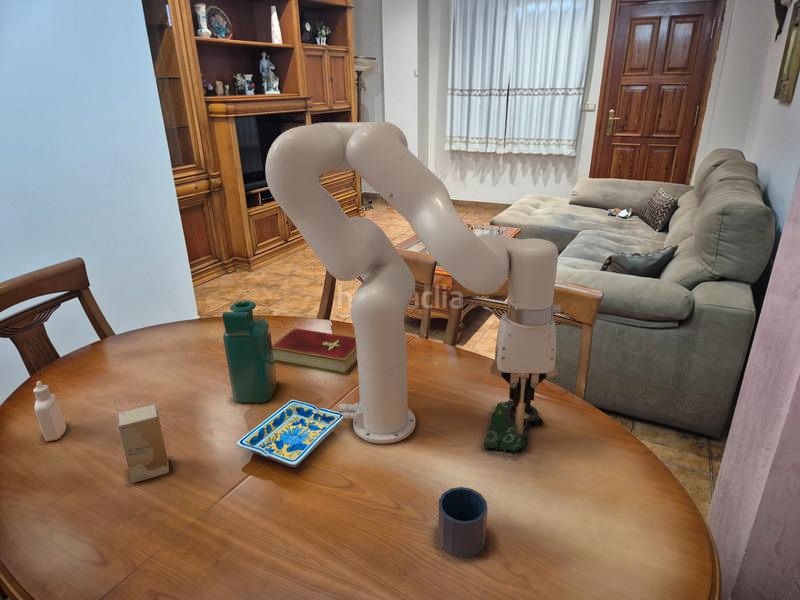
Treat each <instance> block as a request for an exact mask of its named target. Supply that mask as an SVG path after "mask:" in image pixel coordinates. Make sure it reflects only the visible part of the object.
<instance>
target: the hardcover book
mask: <svg viewBox="0 0 800 600" xmlns="http://www.w3.org/2000/svg"><path fill="white" fill-rule="evenodd" d="M272 349H273V357H274V363H279V364H283V365H284V364H285V365H289V366H295V367H301V368H307V369H311V370H318V371H323V372H328V373H333V374H338V375H345V376H347V375H348V374H349V372H350V371H352V369H353V368H354V367H355V365H356V364H358V362H357V349H356V338H355V336H347V335H343V334H336V333H329V332H323V331H317V330H309V329H302V328H297V327H292V328H291V329H290V330H288V331H287V332H286V333H285V334H284V335H282V336H281V337H280V338H279V339H277V340H276V341H274V343H272Z"/></svg>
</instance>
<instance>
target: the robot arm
mask: <svg viewBox="0 0 800 600" xmlns="http://www.w3.org/2000/svg"><path fill="white" fill-rule="evenodd" d="M408 143H409V142H408V139H407V136H406V135H405V133H404V132H403V130H402V129H401V128H400V127H399V126H397V125H396V124H394V123H392V122H389V121H358V122H357V121H355V122H353V121H352V122H351V121H350V122H349V121H348V122H347V121H346V122H344V121H343V122H341V121H340V122H317V123H312V124H307V125H306V124H305V125H299V126H295V127H292V128H290V129H288V130H285V131H284V132H282V133H281V134H280V135H278V136H277V137H276V138H275V140H274V141H273V142H272V144H271V145H270V148H269V149H268V153H267V156H266V160H265V168H264V169H265V171H264V172H265V179H266V183H267V186H268V189H269V192H270V194H271V196H272V197H273V199H274V200H275V202H276V204H277V205H278V206H279V207H280V209H281V210H282V211H283V212H284V214H286V216H287V217H288V218H289V220H290V221H291V222H292V224H293V225H294V226H295V227H296V229H297V231H298V232H299V233H300V235H301V236H302V238H303V239H304V241H305V242H306V243H307V245H308V246H309V248H310V249H311V250H312V252H313V253H314V254H315V256H316V257H317V259H318V260H319V261H320V263H321V265H323V267H324V268H325V270H326V271H327V272H328V274H330V275H331V276H332V277H333V278H334V279H337V280H338V281H342V282H351V281H353V280H356V279H358V278H359V277H360V278H361V280H362V283H361V284H360V285H359V286H358V288H357V289H356V291H355V292H354V295H353V296H352V300H351V305H350V317H351V323H352V327H353V331H354V337H355V338H356V349H357V374H358V375H357V379H358V380H357V381H358V395H359V401H358V402H354V403H339V404H338V413H339V414H342V419H343V420H352V425H353V431H354V433H356V435H357V436H358V437H359V438H361V439H362V440H364V441H366V442H369V443H373V444H382V445H384V444H393V443H397V442H400V441H402V440H404V439H406V438H408V437H409V436H410V435H411V434H412V433H413V432H414V431H415V428H416V423H417V422H416V416H415V413H414V412H413V411H412V410H411V409H409V407H408V405H409V403H408V401H409V399H408V346H407V345H408V343H407V335H406V329H405V315H406V312H407V310H408V308H409V305H410V303H411V301H412V300H413V298H414V295H415V292H416V280H415V277H414V275H413V272H412V270H411V269H410V268H409V265H407V263H406V262H405V260H404V259H403V257H402V255H400V253H399V251H398V250H397V249H396V247H395V246H394V245H393V242H392V241H391V240H390V238H389V237H388V235H387V234H386V233H385V231H384V230H383V229H382V228H381V226H379V225H378V224H377V223H376V222H374V221H373V220H372V219H369V218H367V217H363V216H353V217H349V216H348V215H347V213H346V212H345V210H344V209H343V208H342V206H341V204H340V203H339V201H338V200H337V199H336V198H335V197H334V195H332V193H330V192H329V191H328V190H327V189H326V188H325V187H324V186H323V185H322V184H321V182H320V181H319V178H320V176H322V175H325V174H326V173H329V172H331V171H354V172H355V173H356V174H357V175H358V176H359V177H360V178H361V179H362V180H363V181H364V182H365V183H366V184H368V186H370V187H371V188H372V189H373V190H374V191H375V192H376V193H377V194H378V195H380V196H381V197H382V199H384V200H385V201H386V202H387V203H388V204H389V205H390V206H391V207H393V209H394V210H395V211H397V212H398V214H399V215H400V216H402V217H403V218H404V219H405V221H407V223H409V225H410V227H411V229H412V230H413V232H414V234H415V236H416V237H417V238H418V239H419V241H420V243H422V245H423V246H424V248H425V250H426V251H427V252H428V253H429V255H430V256H431V257H432V258H433V260H434V261H435V262H436V263H437V265H439V266H440V267H441V268H442V269H443V270H444V271H445V272H446V273H448V275H449V276H451V277H452V279H454V281H456V282H457V283H458V284H460V286H462V287H463V288H465V289H466V290H467V291H470V292H472V293H474V294H477V295H485V296H486V295H491V294H494V293H496V292H497V291H498V290H500V289H502V287H503V286H504V285H505V283H506V281H507V279H508V285H507V301H506V312H505V313H503V314H502V315H501V317H500V319H499V324H498V327H497V333H496V342H495V347H494V348H495V349H494V350H495V351H494V359H493V361H492V364H491V365H490V368H489V369H490V374H492V375H493V376H496V377H501V378H502V379H503V380H504V381H505V382H506V383H508V384H509V392H508V398H509V400H510V401H511V400H512V401H513V404H514V407H517V406H518V403H519V392H520V388H519V385H518V378H519V375H518V374H528V375H527V376H528V381H527V390H526V400H525V404H526V406H527V407H530V405H532V404H531V402H532V401H534V400H535V392H536V388H538V385H539V384H540V383H542V382H543V381H544V380H546V379H547V378H551V377H555V376H558V374H559V372H558V369H557V365H556V361H557V360H556V359H557V331H556V329H557V328H556V321H555V317H554V316H555V315H557V314H561V312H562V305H557V304H555V303H554V298H555V288H556V279H557V270H558V260H559V249H558V247H557V245H556V244H555V243H554V242H553V241H550V240H547V239H543V238H534V237H533V238H523V239H522V238H516V237H510V236H506V235H500V234H495V233H481V234H479V235H476V234H475V233H474V232H473V231H472V229H470V227H469V225H467V224H466V222H464V220H463V219H462V217H461V216H460V215H459V213H458V212H457V210H456V208H455V206H454V204H453V202H452V198H451V196H450V192H449V190H448V189H447V187H446V185H445V184H444V182H443V181H442V180H441V178H439V177H438V176H437V175H436V174H435V173H434V172H432V171H431V169H430V168H429V167H428V166H426V165H425V164H424V163H423V162H422V161H421V160H420V159H419V158H418V156H416V155H415V154H414V153H412V152H411V150H409V144H408Z"/></svg>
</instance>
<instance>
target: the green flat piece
mask: <svg viewBox="0 0 800 600" xmlns="http://www.w3.org/2000/svg"><path fill="white" fill-rule="evenodd" d="M514 412H516V407H514V404H513V400H510V399H508V400H507V401H500V402H499V403H497V404H496V407H495V410H494V411H493V412H492V414H491V417H490V420H491V422H490V425H489V428H488V429H487V433H486V436H485V438H484V442H483V447H484V450H485V451H487V452H499V453H501V452H504V454H507V453H509V452H510V453H511V455H514V456H515V453H522V452H523V451H524V450H525V449H526V447H527V446H528V445H527V444H528V438H529V437H528V433H529V430H530V427H537V426H541V425H543V424H544V419H543V418H542V417H540V416H539V413H538V412H539V411H538V410H537V408H536V407H534V406H533V405H532V404H530V407H527V406H526V404H525V412H527V413H528V414H530V416H528V417H524V423H523V434H522V437H521V438H516V437H515V436H514V426H515V413H514Z"/></svg>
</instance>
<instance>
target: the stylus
mask: <svg viewBox="0 0 800 600" xmlns="http://www.w3.org/2000/svg"><path fill="white" fill-rule="evenodd" d="M528 376H529V375H527V374H525V373H520V374H519V375H518V379H517V381H518V385H519V388H520V392H519V403H518V406H517V407H516V411H515V413H514V415H515V426H514V436H515V437H516V438H521V437H522V434H523V423H524V418H525V412H526V411H525V400H526V390H527V381H528Z"/></svg>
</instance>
